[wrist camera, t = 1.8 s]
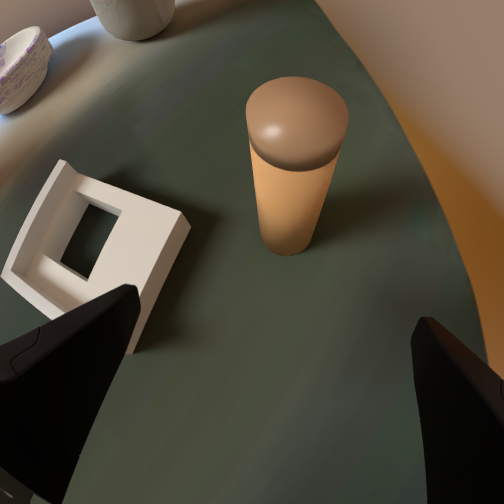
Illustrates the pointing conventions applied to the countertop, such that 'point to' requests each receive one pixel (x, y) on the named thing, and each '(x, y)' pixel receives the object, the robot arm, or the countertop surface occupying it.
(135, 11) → the light grey bottle
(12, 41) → the paper bowls
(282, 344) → the countertop surface
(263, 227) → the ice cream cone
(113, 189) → the housing
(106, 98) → the countertop surface
